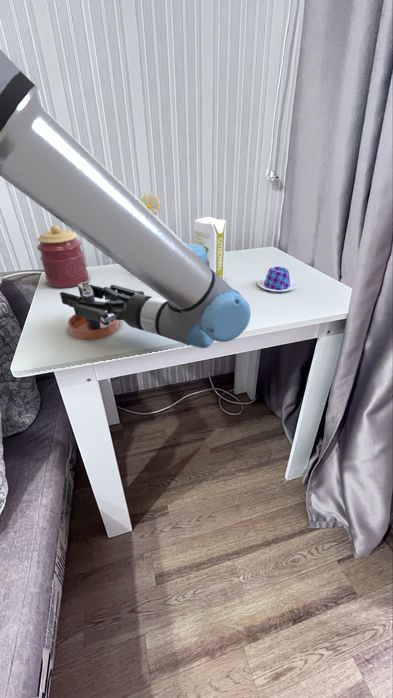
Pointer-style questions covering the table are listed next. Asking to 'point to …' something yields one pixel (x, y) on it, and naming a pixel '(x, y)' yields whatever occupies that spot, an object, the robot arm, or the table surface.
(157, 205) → the flower in vase
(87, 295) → the flask
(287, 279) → the pudding
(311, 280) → the table surface
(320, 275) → the table surface
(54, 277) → the kitchen canister
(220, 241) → the juice carton
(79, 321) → the terracotta plant saucer
